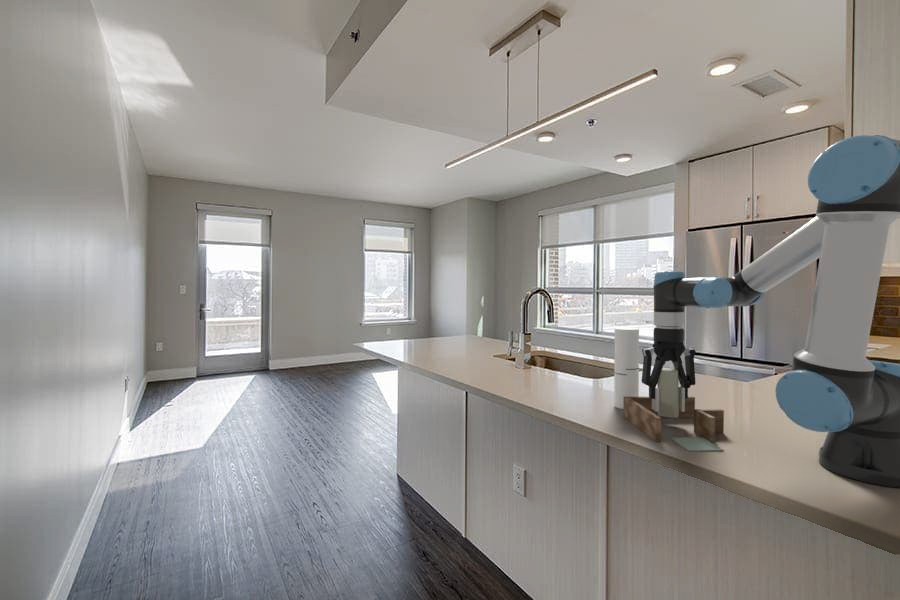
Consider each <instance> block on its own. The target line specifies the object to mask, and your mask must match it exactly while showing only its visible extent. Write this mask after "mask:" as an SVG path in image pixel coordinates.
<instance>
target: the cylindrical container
mask: <svg viewBox="0 0 900 600" xmlns="http://www.w3.org/2000/svg"><path fill="white" fill-rule="evenodd" d="M639 356H640V328H639V327H638V328H636V327H614V369H613V371H614V378H613V379H614V391H613V392H614V399H613V400H614V402H613V403H614V407H615V408H618V409H621V410H624V397H640V395H639V394H640V393H639V391H640V389H639V386H640V385H639V382H640V381H639V380H640V379H639V378H640V377H639V376H640V373H639V371H640V365H639V364H640V362H639V361H640V357H639Z"/></svg>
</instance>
